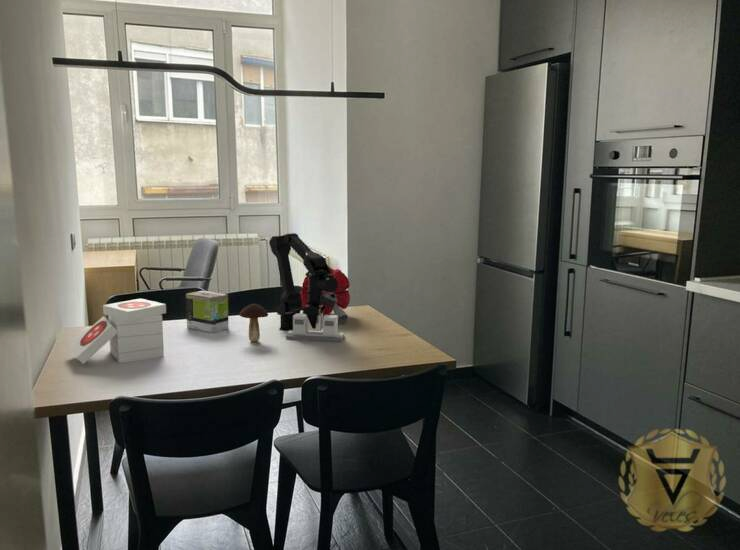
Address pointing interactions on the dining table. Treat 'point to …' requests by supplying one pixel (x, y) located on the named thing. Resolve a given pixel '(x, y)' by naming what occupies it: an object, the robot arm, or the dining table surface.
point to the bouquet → (340, 293)
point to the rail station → (302, 332)
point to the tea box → (207, 311)
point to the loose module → (319, 323)
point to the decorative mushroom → (253, 319)
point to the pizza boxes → (125, 332)
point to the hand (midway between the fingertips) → (315, 326)
